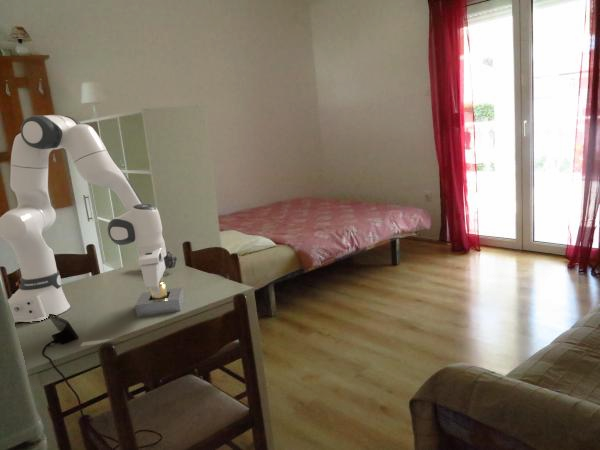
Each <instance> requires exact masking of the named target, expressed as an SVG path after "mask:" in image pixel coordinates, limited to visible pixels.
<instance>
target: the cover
mask: <svg viewBox="0 0 600 450" xmlns="http://www.w3.org/2000/svg"><path fill="white" fill-rule="evenodd" d="M159 289H160V295H158V296H155V295H154V291H153V289H152V288H150V292H151V294H152V300H157V299H165V298H168V296H167V286H166V282H165V281H163V280H162V281H160V282H159Z"/></svg>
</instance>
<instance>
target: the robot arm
mask: <svg viewBox="0 0 600 450" xmlns="http://www.w3.org/2000/svg"><path fill="white" fill-rule="evenodd" d="M63 149H64V150H66V151H67V153H68V154H69V155H70V158H71V160H72V162H73V164H74V166H75V169H76V171H77V172H78V173H79V176H80V177H81V178H82V179H83V180H84V181H85V182H87V183H89V184H92V185H96V186H100V187H105V188H107V189H108V190H111V191H113V192H114V193H115V194H116V196H117V197H118V199H119V200H120V202H121V203H122V206H124V209H126V212H125V213H123V214H121V215H119V216H117V217H114V218H113V219H111V220H110V221H109V222H108V225H107V235H108V237H109V239H110V240H111V242H113V244H115V245H119V246H126V245H129V244H131V243H135V244H136V248H137V254H138V257H137V264H138V266H140V270H141V275H142V278H143V282H144V283H143V284H144V286H145V287H146V288H147V289H151V288H152V289H153V291H154V295H155V296H158V295H160V289H159V282H160V281H163V275H164V273H165V271H166V269H165V262H164V257H165V256H166V255H167V254H166V250H167V248H166V243H165V242H166V241H165V239H164V237H163V224H162V220H161V215H160V211H159V210H158V208H157V207H156V205H154V204H151V203H150V204H149V203H144V202H143V200H142V199H141V197H140V196H139V194H138V192H137V190H136V189H135V187H134V186H133V184H132V182H131V181H130V179H129V178H128V176H127V174H125V172H124V171H122V170H121V169H120V168H119V167H118V166H117V164H116V163H115V162H114V161H113V158H112V157H111V156H110V154H109V152H108V150H107V147H106V146H105V144H104V142H103V140H102V138H101V137H100V136H99V134H98V132H96V130H95V129H94V127H92V126H90V124H85V123H84V124H83V123H82V124H81V123H80V122H79V121H78V120H77V119H75V118H73V117H70V116H67V115H64V116H63V115H59V114H58V115H57V114H48V115H41V114H39V115H38V114H36V115H32V116H29V117H27V118H25V119H24V120H23V121H22V123H21V126H20V132H19V134H17V135H16V136H15V137H14V140H13V144H12V148H11V156H10V179H9V180H10V181H9V182H10V184H9V186H10V189H11V190H12V191H13V192H14V195H15V197H16V200H17V207H15V208H12V209H10V210H7V211H6V212H5V213H4V214H3V215H0V238H2V239H3V240H4V241H6V242H7V243H8V244H9V245H10V247H11V248H12V250H13V251H14V254H15V256H16V258H17V261H18V266H19V270H20V273H21V276H20V278H19V279H17V281H16V282H15V284H16V285H15V286H16V287H17V286H18V289H17V290H16V291H15V292H14V293H13V294H12V295H11V296H10V298H8V299H7V301H8V303H9V306H10V309H11V312H12V315H13V318H14V321H24V322H30V323H33V322H32V321H40V322H42V321H41V320H43V321H45V320H47V319H49V318H48V316H49V314H54V315H56V316H58V315H60V314H62V313H65V312H67V311H68V310H69V309H70V308H71V304H70V303H69V302H68V300H67V297H66V295H65V293H64V290H63V288H62V278H61V275H60V270H58V268H57V263H56V259H55V254H54V250H53V249H52V248H51V247H49V246H48V244H47V243H46V241H45V240H44V237H43V235H42V234H43V233H45V232H46V231H48V230H49V229H50V228H51V227H52V226H53V225H54V223H56V221H57V213H56V210H55V209H54V207H53V206H52V204H51V200H50V195H49V186H48V185H49V183H48V182H49V159H50V157H49V156H50V154H51V152H52V151H53V150H58V151H59V150H63ZM46 318H47V319H46ZM44 319H45V320H44Z"/></svg>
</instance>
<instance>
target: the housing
mask: <svg viewBox="0 0 600 450" xmlns="http://www.w3.org/2000/svg"><path fill="white" fill-rule="evenodd" d="M166 290H167V296H168V298H165V299H157V300H152V294H151V291H146V292H145V291H144V292H141V293H140V295H139V297H138V299H137V301H136V303H135V304H134V307H135V312H136V317H137V318H139V317H145V316H146V317H147V316H155V315H159V314H160V315H161V314H168V313H169V314H170V313H174V312H181V310H182V307H183V303H184V300H185V296H184V290H183V287H175V288H168V289H167V288H166Z"/></svg>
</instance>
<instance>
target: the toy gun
mask: <svg viewBox="0 0 600 450" xmlns="http://www.w3.org/2000/svg"><path fill="white" fill-rule="evenodd" d="M166 254H167V255H166V256H165V257H164V262H165V270H168V269H169V270H171V269H174V268H175V266H176V265H177V261H178V258H177V256H176V255H174V254H173V253H171V251H170V250H168V249H166Z"/></svg>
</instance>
